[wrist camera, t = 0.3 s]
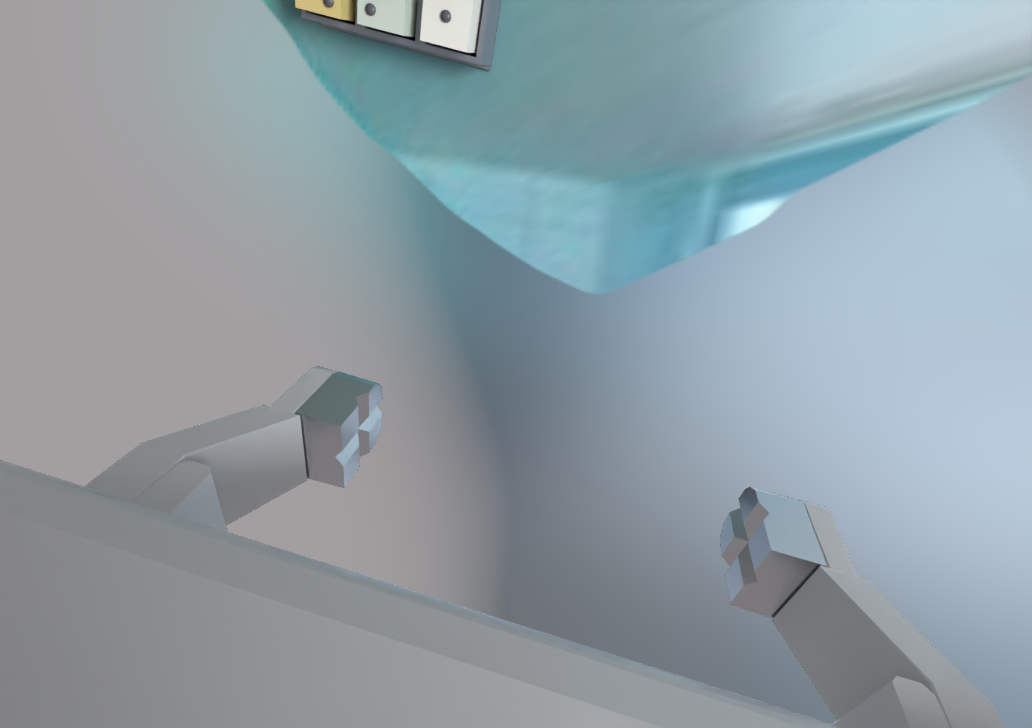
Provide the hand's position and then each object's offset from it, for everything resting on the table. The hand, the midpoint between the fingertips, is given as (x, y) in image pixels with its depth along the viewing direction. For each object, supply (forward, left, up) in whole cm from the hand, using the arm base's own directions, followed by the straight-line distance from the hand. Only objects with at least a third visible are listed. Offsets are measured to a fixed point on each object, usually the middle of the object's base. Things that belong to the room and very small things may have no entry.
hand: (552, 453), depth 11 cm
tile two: (-7, -24, -44) cm, 51 cm away
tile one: (-7, -18, -44) cm, 48 cm away
